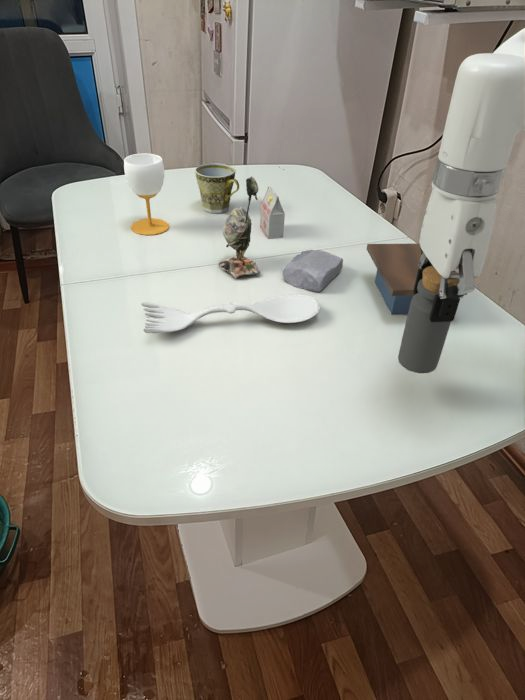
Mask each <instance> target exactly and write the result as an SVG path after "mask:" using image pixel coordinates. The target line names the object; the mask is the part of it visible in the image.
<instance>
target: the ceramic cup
mask: <svg viewBox="0 0 525 700" xmlns="http://www.w3.org/2000/svg"><path fill="white" fill-rule="evenodd" d="M194 172H195V178H196V183H197V187H198V190H199V194H200V198H201V203H202V204H201V205H202V208H203V211H205V212H206V213H209V214H224V213H226V212H228V211H229V208H230V202H231V197H232V196H233V195H234V194H235V193H237V192H238V191H239V190H240V183H239V181H238V180H237V179H236V169H235V167H234V166H231V165H228V164H225V163H205V164H200V165H198V166H196V167H195V169H194ZM234 184H235V186H236V189H235V190H234V191H232V190H233V187H234Z"/></svg>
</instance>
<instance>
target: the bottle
mask: <svg viewBox="0 0 525 700" xmlns="http://www.w3.org/2000/svg"><path fill="white" fill-rule="evenodd" d="M451 273H458V271H456V270H455V271H451ZM440 278H441V275H440V274H439V273H438V272H437V270H436V269H435V268H434V266H429V267H426V268H425V269H424V270H423V279H421V280H420V281H419V283H418V286H417V290H418V292H419V293H417V294H415V295H414V296H413V297H412V300H411V304H410V308H409V312H408V314H407V317H406V320H405V325H404V329H403V333H402V338H401V342H400V346H399V350H398V355H397V360H398V363H399V364H400V366H402V367H403V368H404V369H405V370H407V371H409V372H411V373H417V374H429V373H432V372H434V371H435V370H436V369H437V367H438V365H439V362H440V359H441V356H442V353H443V350H444V346H445V343H446V339H447V337H448V334H449V330H450V326H451V323H452V321H450V322H431V321H430V319H429V317H430V313H431V310H432V306H433V302H434V299H435V295H439V289H440ZM456 284H457V279H449V280H448V288H449V287H451V286H453V285H456Z"/></svg>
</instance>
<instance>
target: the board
mask: <svg viewBox="0 0 525 700" xmlns="http://www.w3.org/2000/svg"><path fill="white" fill-rule="evenodd" d="M420 248H421V247H420V243H367V244H366V251H367V253H368V255H369V256H370V258H371V260H372V262H373V264H374V265H375V267H376V270H377V269H378V271H379V273H380V275H381V277H382V279H383V280H384V282H385V284H386V286H387V288H388V290H389V291H390V293H391V295H392V296H414V295H415V294H414V293H413V290H414V286H415V281H416V277H417V273H418V269H422V268H419V260H420V258H421V250H420ZM454 271H456V269H455V270H454ZM456 285H457V284H456ZM468 294H469V293H467V294H466V295H468ZM466 295H465V296H466Z"/></svg>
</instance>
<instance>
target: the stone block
mask: <svg viewBox="0 0 525 700" xmlns="http://www.w3.org/2000/svg"><path fill="white" fill-rule="evenodd" d="M343 263H344V259H343V257H340V256H338V255H335V254H334V253H333V254H332V253H331V252H328V251H326V250H321V249H308V250H307V249H306V250H302V251H301V252H300V253H298V254H296V255H295V256H294V257H293V258H292V259H291V260H290V261H288V262H287V264H286V265H284V267H283V269H282V276H283V280H284V281H285V283H288V284H289V285H292V286H293V287H295V288H301V289H304V290H307V291H312V292H316V293H320V292H322V290H323V289H325V288H326V287H327V286H328V285H329V283H331V282H332V280H334V279H335V277H337V276H338V274H339V273H340V272H342V269H343V266H344V265H343Z"/></svg>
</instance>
